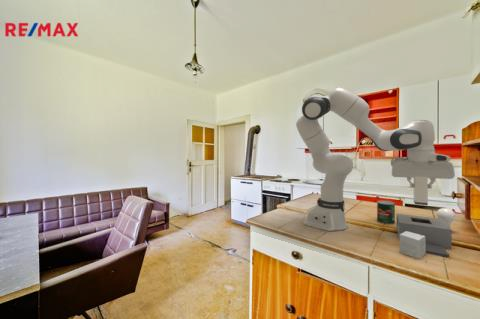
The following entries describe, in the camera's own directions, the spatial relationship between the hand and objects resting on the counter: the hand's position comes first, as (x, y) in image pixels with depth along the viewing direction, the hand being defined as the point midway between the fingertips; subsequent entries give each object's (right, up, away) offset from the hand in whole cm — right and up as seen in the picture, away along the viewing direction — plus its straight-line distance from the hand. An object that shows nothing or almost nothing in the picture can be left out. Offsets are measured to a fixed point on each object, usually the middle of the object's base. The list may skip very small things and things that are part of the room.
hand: (420, 187), depth 85 cm
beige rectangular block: (0, -7, 0) cm, 7 cm away
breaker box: (+1, -23, +1) cm, 23 cm away
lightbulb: (+19, -22, +7) cm, 30 cm away
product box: (-13, -24, -11) cm, 30 cm away
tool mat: (-4, -24, -10) cm, 26 cm away
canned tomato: (+1, -22, +21) cm, 31 cm away
